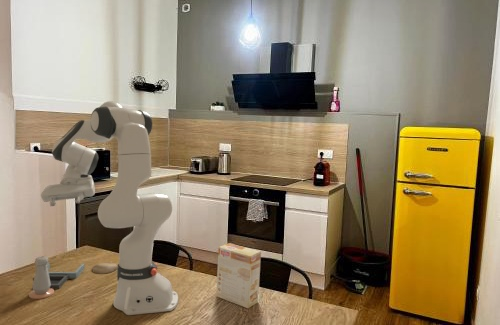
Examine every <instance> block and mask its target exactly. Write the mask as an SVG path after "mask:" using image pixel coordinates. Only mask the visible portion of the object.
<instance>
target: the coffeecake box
mask: <svg viewBox="0 0 500 325" xmlns="http://www.w3.org/2000/svg"><path fill="white" fill-rule="evenodd" d="M217 252H218V253H217V256H218V257H217V274H216V292H215V294H216V295H215V296H216V297H217V298H220V299H223V300H225V301H227V302H231V303H233V304H236V305H238V306H240V307H242V308H243V307H244V308H246V309H249V308H251V307H252V306H255V305H257V303H259V294H260V293H259V292H260V291H259V290H260V278H261V277H260V276H261V275H260V273H261V257H262V252H261V251H260V250H256V249H252V248H249V247H245V246H241V245H237V244H234V243H231V242H229V243H225V244H223V245H221V246H218V251H217Z"/></svg>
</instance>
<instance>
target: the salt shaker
mask: <svg viewBox="0 0 500 325" xmlns="http://www.w3.org/2000/svg"><path fill="white" fill-rule="evenodd" d="M48 263H49V258H48V256H45V255H44V256H43V255H42V256H38V257H36V258H35V259H34V265H35V266H36V267H35V272H34V278H33V282H32V283H33V284H32V288H31V289H32V291H33V290H34V292H35V293H36V294H39V295H41V294H45V293H47V292H48V290H49V288H50V286H51V283H50V278H49V273H48V272H49V270H48V268H47V264H48Z"/></svg>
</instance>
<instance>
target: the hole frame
mask: <svg viewBox="0 0 500 325" xmlns="http://www.w3.org/2000/svg"><path fill="white" fill-rule="evenodd" d="M49 278H50V283H51V286H50V288H52V289H54V290H59V289H60V288H62V286H63V285H64V284H65V283H66V282H67V281H68V280H69V278H68V275H49Z"/></svg>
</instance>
